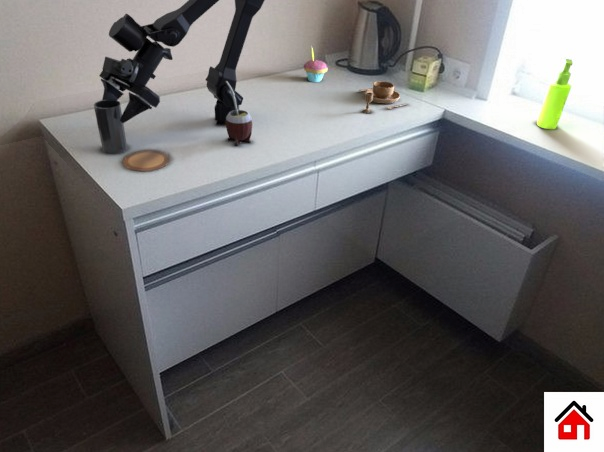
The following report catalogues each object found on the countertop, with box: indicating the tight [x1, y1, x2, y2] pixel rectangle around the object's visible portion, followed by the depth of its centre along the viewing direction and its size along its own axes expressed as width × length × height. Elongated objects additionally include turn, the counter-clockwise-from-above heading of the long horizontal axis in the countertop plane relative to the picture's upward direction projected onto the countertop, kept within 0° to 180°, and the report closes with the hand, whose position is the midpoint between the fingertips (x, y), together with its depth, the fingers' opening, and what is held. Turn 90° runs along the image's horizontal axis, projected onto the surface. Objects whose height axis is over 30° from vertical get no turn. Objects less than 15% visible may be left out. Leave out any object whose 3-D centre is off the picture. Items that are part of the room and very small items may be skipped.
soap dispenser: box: [536, 58, 574, 130], centre depth 150 cm, size 6×7×20 cm
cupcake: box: [303, 45, 328, 83], centre depth 178 cm, size 9×8×12 cm
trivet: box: [122, 149, 170, 172], centre depth 122 cm, size 11×11×1 cm
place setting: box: [358, 80, 408, 114], centre depth 164 cm, size 18×20×6 cm
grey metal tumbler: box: [93, 99, 128, 155], centre depth 124 cm, size 6×6×12 cm
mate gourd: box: [225, 81, 253, 147], centre depth 131 cm, size 8×8×15 cm
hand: (111, 116), depth 123 cm, fingers open, 9 cm apart
